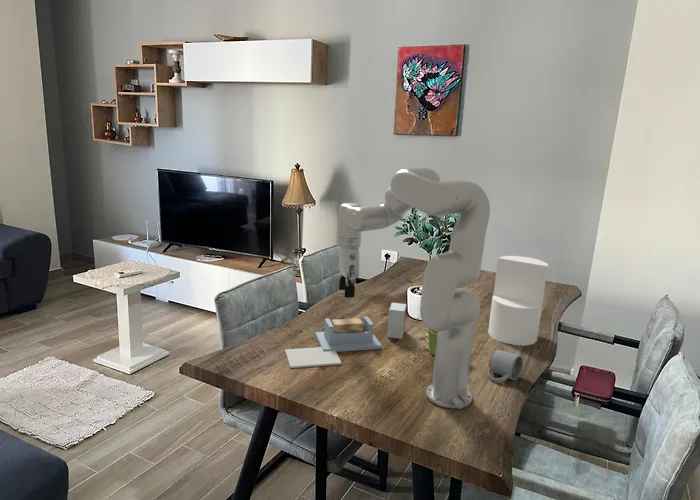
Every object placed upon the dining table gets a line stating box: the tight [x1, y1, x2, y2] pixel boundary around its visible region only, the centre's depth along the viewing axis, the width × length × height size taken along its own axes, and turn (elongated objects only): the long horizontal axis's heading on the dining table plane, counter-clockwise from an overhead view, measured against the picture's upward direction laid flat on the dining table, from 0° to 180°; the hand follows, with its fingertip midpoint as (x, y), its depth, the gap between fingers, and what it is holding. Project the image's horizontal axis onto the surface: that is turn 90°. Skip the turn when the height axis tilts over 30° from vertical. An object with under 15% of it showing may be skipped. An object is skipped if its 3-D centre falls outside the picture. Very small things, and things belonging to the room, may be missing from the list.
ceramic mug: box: [487, 349, 524, 384], centre depth 156 cm, size 11×8×8 cm
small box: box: [386, 302, 407, 340], centre depth 183 cm, size 8×6×10 cm
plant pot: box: [425, 326, 438, 356], centre depth 170 cm, size 9×9×9 cm
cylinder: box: [488, 255, 549, 346], centre depth 185 cm, size 17×17×28 cm
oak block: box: [330, 317, 363, 334], centre depth 175 cm, size 10×4×4 cm, turn 104°
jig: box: [314, 315, 383, 353], centre depth 175 cm, size 20×14×8 cm
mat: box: [284, 346, 342, 369], centre depth 163 cm, size 12×16×1 cm
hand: (346, 292), depth 171 cm, fingers open, 7 cm apart
